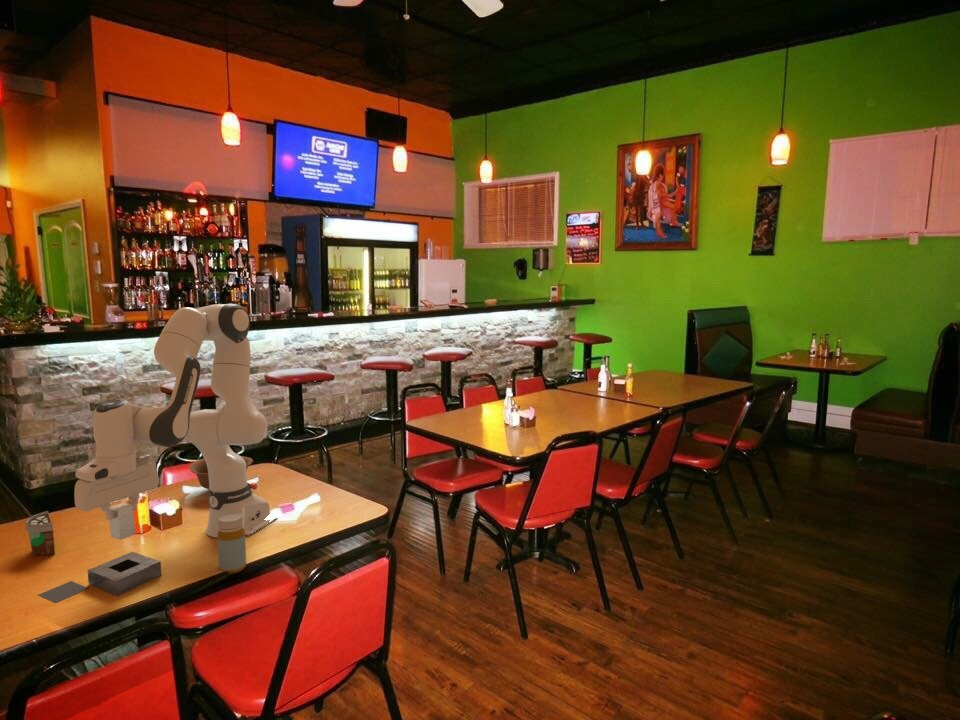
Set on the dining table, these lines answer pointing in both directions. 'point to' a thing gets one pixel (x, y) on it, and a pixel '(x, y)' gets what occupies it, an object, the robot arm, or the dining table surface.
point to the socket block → (124, 573)
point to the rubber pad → (63, 592)
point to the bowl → (202, 470)
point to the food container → (41, 534)
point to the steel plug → (122, 521)
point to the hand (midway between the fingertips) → (121, 515)
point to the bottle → (231, 543)
